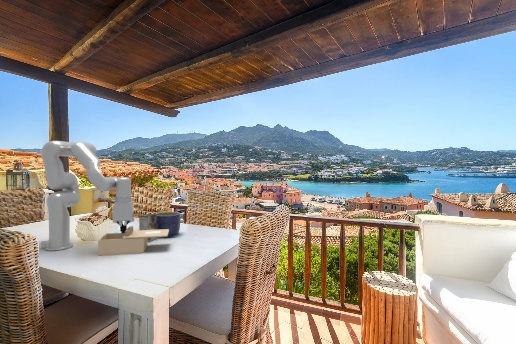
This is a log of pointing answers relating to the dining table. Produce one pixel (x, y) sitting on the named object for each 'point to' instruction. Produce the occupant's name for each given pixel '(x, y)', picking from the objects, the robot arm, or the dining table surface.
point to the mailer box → (120, 244)
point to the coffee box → (148, 224)
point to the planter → (168, 222)
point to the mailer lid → (145, 233)
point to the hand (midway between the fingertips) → (123, 232)
